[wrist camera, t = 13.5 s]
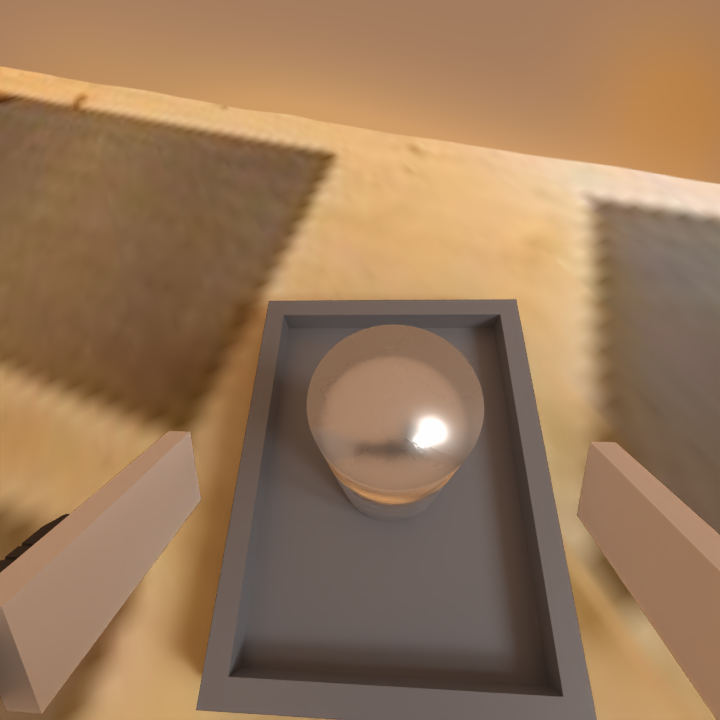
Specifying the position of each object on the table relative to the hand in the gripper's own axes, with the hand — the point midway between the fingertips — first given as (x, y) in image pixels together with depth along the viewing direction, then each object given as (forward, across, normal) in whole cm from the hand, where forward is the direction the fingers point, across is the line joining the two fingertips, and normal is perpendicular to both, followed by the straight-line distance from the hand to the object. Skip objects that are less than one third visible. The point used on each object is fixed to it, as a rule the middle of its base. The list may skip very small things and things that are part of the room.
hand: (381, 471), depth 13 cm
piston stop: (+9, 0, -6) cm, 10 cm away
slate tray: (+9, 0, -6) cm, 11 cm away
